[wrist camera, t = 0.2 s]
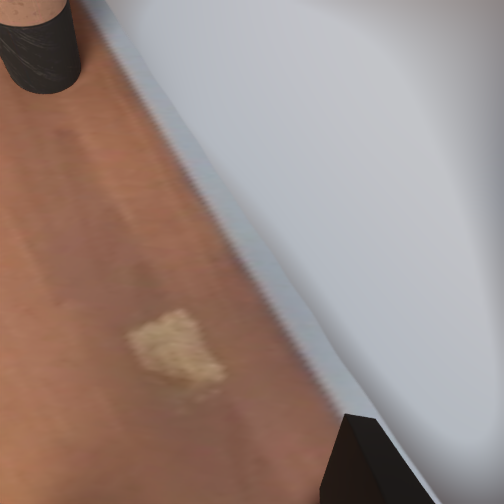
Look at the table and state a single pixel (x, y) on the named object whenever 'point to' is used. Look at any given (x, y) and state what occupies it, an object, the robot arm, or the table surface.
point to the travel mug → (39, 44)
